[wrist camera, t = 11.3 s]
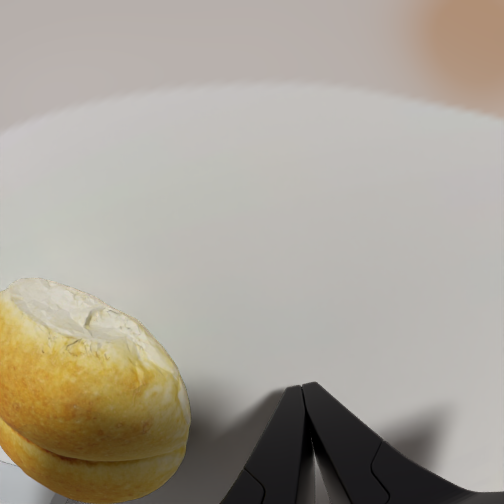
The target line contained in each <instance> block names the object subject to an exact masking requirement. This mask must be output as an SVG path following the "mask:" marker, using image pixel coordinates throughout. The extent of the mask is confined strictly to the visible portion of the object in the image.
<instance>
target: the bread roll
mask: <svg viewBox="0 0 504 504" xmlns="http://www.w3.org/2000/svg"><path fill="white" fill-rule="evenodd" d="M190 424H191V411H190V405H189V399H188V395H187V391H186V387H185V384H184V382H183V380H182V378H181V376H180V373H179V371H178V368H177V366H176V364H175V363H174V361H173V360H172V358H171V357H170V356H169V354H168V353H167V352H166V350H165V349H164V347H163V346H162V345H161V344H160V343H159V342H158V341H157V340H156V339H155V338H154V336H153V335H152V334H151V333H150V332H149V331H148V330H147V329H146V328H145V327H144V326H143V325H142V324H141V323H140V322H139V321H138V320H137V319H135V318H133V317H131V316H129V315H127V314H125V313H123V312H121V311H119V310H117V309H115V308H113V307H111V306H109V305H107V304H105V303H104V302H103V301H101V300H100V299H98V298H97V297H94V296H92V295H90V294H88V293H85V292H82V291H79V290H77V289H74V288H71V287H68V286H65V285H62V284H60V283H57V282H54V281H49V280H45V279H41V278H25V279H19V280H17V281H15V282H13V283H12V284H11V285H10V286H9V287H8V288H7V289H6V290H4V291H1V292H0V446H1V447H2V449H3V450H4V452H5V453H6V454H7V455H8V456H9V457H10V458H11V460H12V461H13V462H14V463H15V464H16V465H18V466H19V467H20V468H21V469H22V471H23V472H24V473H25V474H26V475H28V476H29V477H31V478H32V479H34V480H35V481H37V482H38V483H40V484H41V485H43V486H45V487H46V488H48V489H50V490H51V491H53V492H55V493H57V494H59V495H62V496H64V497H67V498H69V499H73V500H76V501H80V502H85V503H93V504H112V503H120V502H125V501H129V500H134V499H138V498H141V497H144V496H146V495H148V494H150V493H152V492H153V491H155V490H157V489H158V488H160V487H161V486H163V485H164V484H165V483H166V482H167V481H168V480H169V479H170V478H171V477H172V476H173V475H174V474H175V472H176V471H177V469H178V468H179V466H180V464H181V462H182V460H183V458H184V456H185V452H186V443H187V440H188V435H189V427H190Z"/></svg>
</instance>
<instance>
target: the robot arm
mask: <svg viewBox="0 0 504 504" xmlns="http://www.w3.org/2000/svg"><path fill="white" fill-rule="evenodd" d="M311 438H312V439H311ZM312 443H313V444H312ZM313 449H314V450H313ZM314 453H315V457H316V460H317V463H318V466H319V469H320V472H321V475H322V478H323V481H324V484H325V487H326V490H327V493H328V496H329V498H330V501H331V504H504V492H474V491H470V490H467V489H464V488H461V487H459V486H457V485H455V484H453V483H451V482H449V481H447V480H445V479H443V478H442V477H440V476H438V475H436V474H434V473H432V472H431V471H429V470H427V469H425V468H423V467H422V466H420V465H418V464H417V463H415V462H413V461H412V460H410V459H409V458H407V457H406V456H404V455H403V454H401V453H400V452H399V451H397V450H396V449H395V448H393V447H392V446H391V445H390V444H389V443H387V442H386V441H383V439H382V438H381V437H380V436H379V435H378V434H376V433H375V432H374V431H373V430H372V429H370V428H369V427H368V426H367V425H366V424H364V423H363V422H362V421H361V420H360V419H358V418H357V417H356V416H355V415H354V414H353V413H351V412H350V411H349V410H348V409H347V408H346V407H344V406H343V405H342V404H341V403H340V402H339V401H338V400H336V399H335V398H334V397H333V396H332V395H331V394H330V393H328V392H327V391H326V390H325V389H324V388H323V387H322V386H321V385H319V384H318V383H317V382H311V383H306V384H303V385H302V387H301V385H296V386H292V387H287V388H286V390H285V392H284V394H283V396H282V398H281V400H280V402H279V404H278V406H277V407H276V409H275V411H274V413H273V415H272V417H271V419H270V421H269V423H268V425H267V427H266V428H265V430H264V432H263V434H262V436H261V438H260V440H259V441H258V443H257V445H256V447H255V449H254V450H253V452H252V454H251V456H250V457H249V459H248V461H247V463H246V464H245V466H244V469H243V470H242V471H241V473H240V475H239V476H238V478H237V480H236V481H235V483H234V484H233V486H232V487H231V489H230V490H229V492H228V493H227V495H226V496H225V497H224V499H223V500H222V501H221V502H220V504H315V461H314Z"/></svg>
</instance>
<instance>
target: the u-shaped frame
mask: <svg viewBox="0 0 504 504" xmlns="http://www.w3.org/2000/svg"><path fill="white" fill-rule="evenodd" d="M67 500H68V498H67V497H64V496H62V495H59V494H57V493H55V492H53V491H51V490H50V489H48V488H46V487H45V486H43V485H41V484H40V483H38V482H37V481H35V480H34V479H32V478H31V477H29V476H28V475H26V474H25V473H24V472H23V471H22V469H21V468H20V467H18V466H14V465H11V464H8V463H4V462H1V461H0V504H66V502H67Z"/></svg>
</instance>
